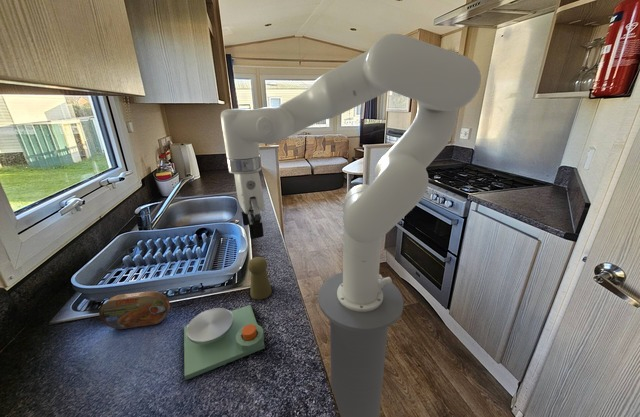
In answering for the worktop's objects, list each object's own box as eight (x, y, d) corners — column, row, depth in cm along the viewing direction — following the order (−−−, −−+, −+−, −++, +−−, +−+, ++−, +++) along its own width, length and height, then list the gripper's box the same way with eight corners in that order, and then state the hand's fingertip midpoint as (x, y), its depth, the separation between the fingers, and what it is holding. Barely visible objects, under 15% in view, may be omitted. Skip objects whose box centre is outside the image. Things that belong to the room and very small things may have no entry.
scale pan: (230, 305, 67) (229, 302, 66) (236, 333, 58) (236, 330, 58) (186, 319, 63) (186, 316, 62) (187, 351, 54) (186, 348, 54)
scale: (252, 307, 70) (251, 298, 69) (267, 349, 58) (266, 338, 57) (185, 330, 63) (182, 320, 62) (185, 382, 51) (182, 371, 50)
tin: (104, 331, 64) (92, 303, 60) (112, 321, 66) (101, 294, 63) (170, 322, 66) (162, 295, 62) (174, 313, 68) (167, 287, 65)
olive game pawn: (265, 301, 72) (260, 267, 68) (246, 297, 74) (241, 263, 70) (275, 287, 77) (272, 255, 73) (257, 284, 79) (253, 252, 75)
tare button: (254, 328, 60) (254, 322, 59) (258, 337, 58) (257, 331, 57) (241, 333, 59) (240, 327, 58) (244, 343, 56) (243, 337, 56)
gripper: (270, 169, 56) (277, 241, 63) (252, 157, 71) (259, 216, 77) (234, 174, 53) (245, 249, 59) (223, 160, 68) (232, 221, 74)
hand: (253, 230), depth 68 cm, fingers open, 8 cm apart
